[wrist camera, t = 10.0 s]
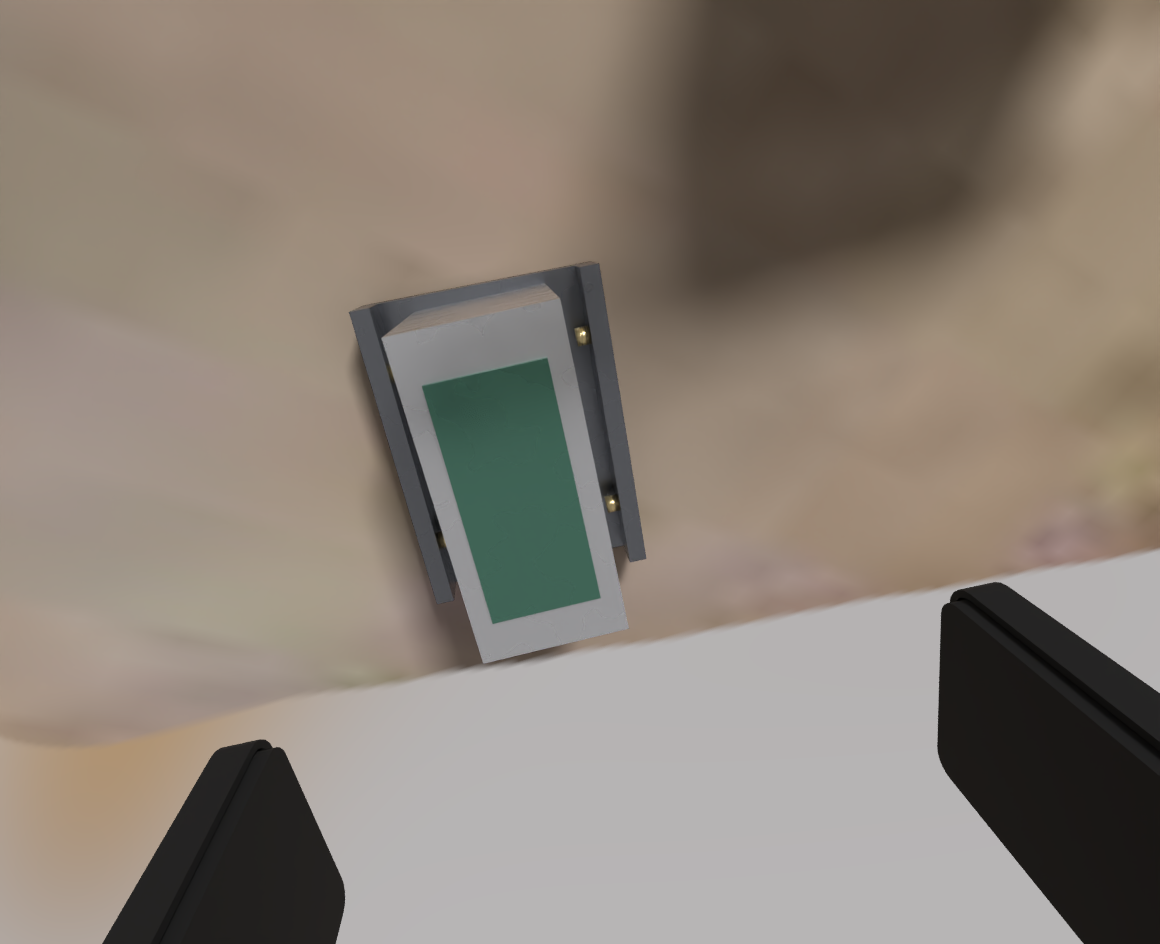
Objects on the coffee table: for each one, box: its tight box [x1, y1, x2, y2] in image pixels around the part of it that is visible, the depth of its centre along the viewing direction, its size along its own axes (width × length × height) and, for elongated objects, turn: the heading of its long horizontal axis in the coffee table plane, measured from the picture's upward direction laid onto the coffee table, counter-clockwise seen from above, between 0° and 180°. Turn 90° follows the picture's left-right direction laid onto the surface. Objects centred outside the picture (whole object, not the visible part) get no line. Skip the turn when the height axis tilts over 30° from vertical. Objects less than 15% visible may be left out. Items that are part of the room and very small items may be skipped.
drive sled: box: [349, 262, 646, 604], centre depth 26 cm, size 9×12×2 cm
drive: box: [382, 283, 629, 664], centre depth 23 cm, size 5×11×7 cm, turn 12°
